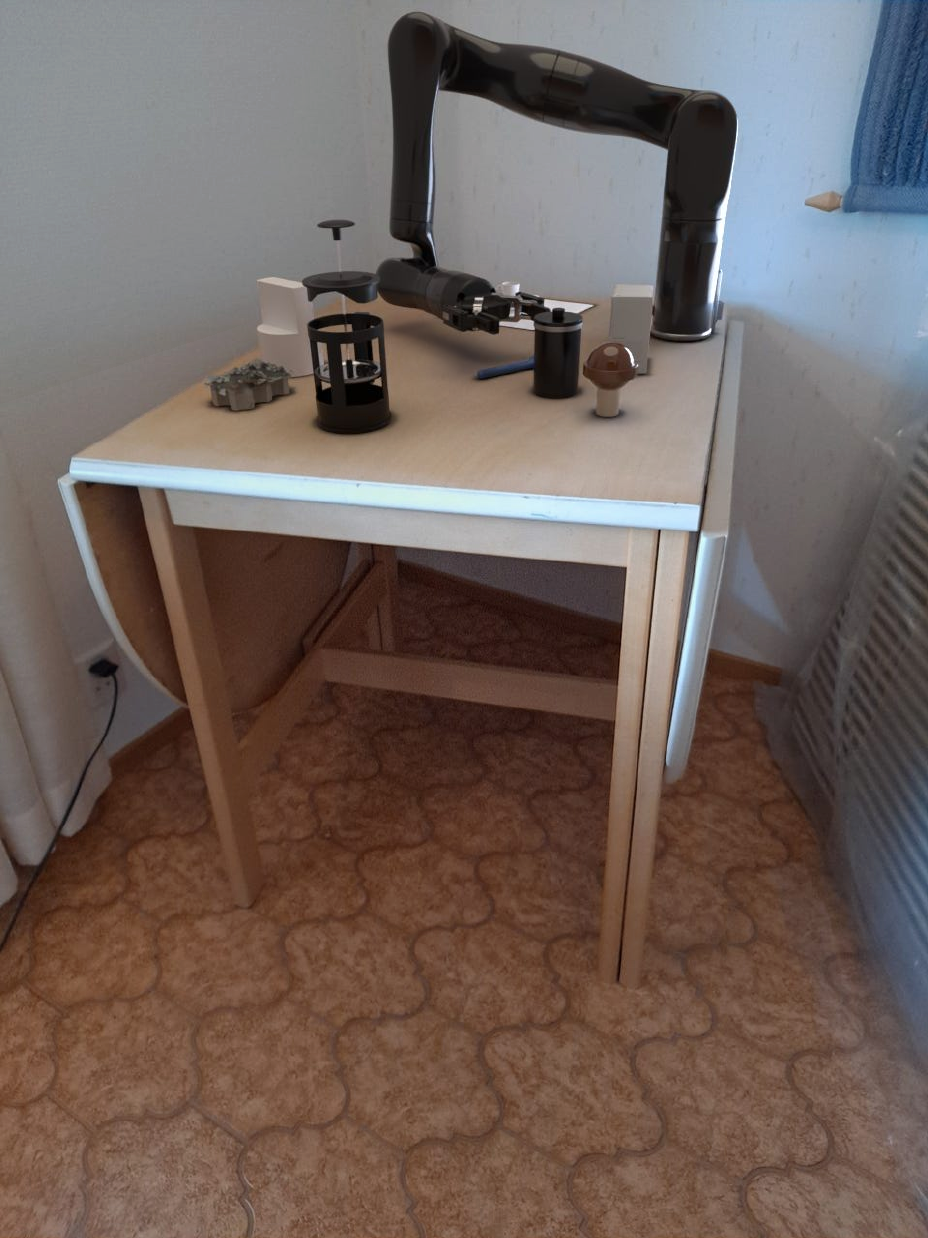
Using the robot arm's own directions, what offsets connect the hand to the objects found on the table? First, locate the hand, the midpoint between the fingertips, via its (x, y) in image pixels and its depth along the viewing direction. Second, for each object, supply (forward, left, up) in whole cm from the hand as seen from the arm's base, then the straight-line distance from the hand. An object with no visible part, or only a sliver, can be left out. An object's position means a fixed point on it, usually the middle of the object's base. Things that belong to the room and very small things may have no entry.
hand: (523, 321), depth 118 cm
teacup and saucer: (-21, -31, -8) cm, 38 cm away
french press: (+27, +2, -8) cm, 28 cm away
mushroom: (0, +18, -7) cm, 20 cm away
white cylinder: (+25, -23, -8) cm, 35 cm away
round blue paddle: (-1, -2, -7) cm, 8 cm away
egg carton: (+35, -14, -8) cm, 38 cm away
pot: (0, +8, -7) cm, 11 cm away
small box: (-15, +5, -8) cm, 18 cm away
